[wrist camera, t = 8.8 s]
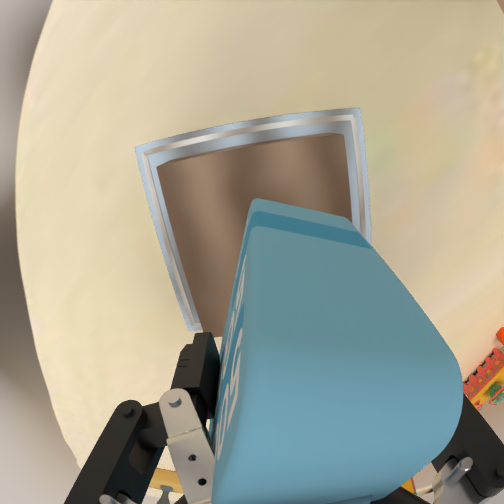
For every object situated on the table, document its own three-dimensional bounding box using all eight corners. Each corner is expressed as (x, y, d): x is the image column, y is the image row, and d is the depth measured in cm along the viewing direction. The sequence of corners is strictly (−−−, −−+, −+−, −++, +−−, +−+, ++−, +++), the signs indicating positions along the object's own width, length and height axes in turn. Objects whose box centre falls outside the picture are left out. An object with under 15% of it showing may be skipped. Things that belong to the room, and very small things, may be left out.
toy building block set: (361, 451, 47) (374, 510, 34) (498, 322, 34) (545, 380, 21) (398, 454, 49) (413, 505, 36) (519, 342, 37) (557, 390, 24)
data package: (252, 189, 14) (248, 416, 3) (342, 209, 15) (492, 404, 4) (216, 369, 19) (196, 543, 8) (282, 378, 19) (295, 547, 8)
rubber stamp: (190, 473, 50) (184, 519, 40) (191, 481, 53) (185, 524, 42) (145, 464, 50) (135, 509, 39) (149, 474, 52) (140, 515, 41)
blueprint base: (357, 108, 24) (377, 106, 19) (368, 300, 32) (382, 326, 27) (137, 146, 25) (115, 151, 21) (190, 326, 33) (182, 355, 29)
